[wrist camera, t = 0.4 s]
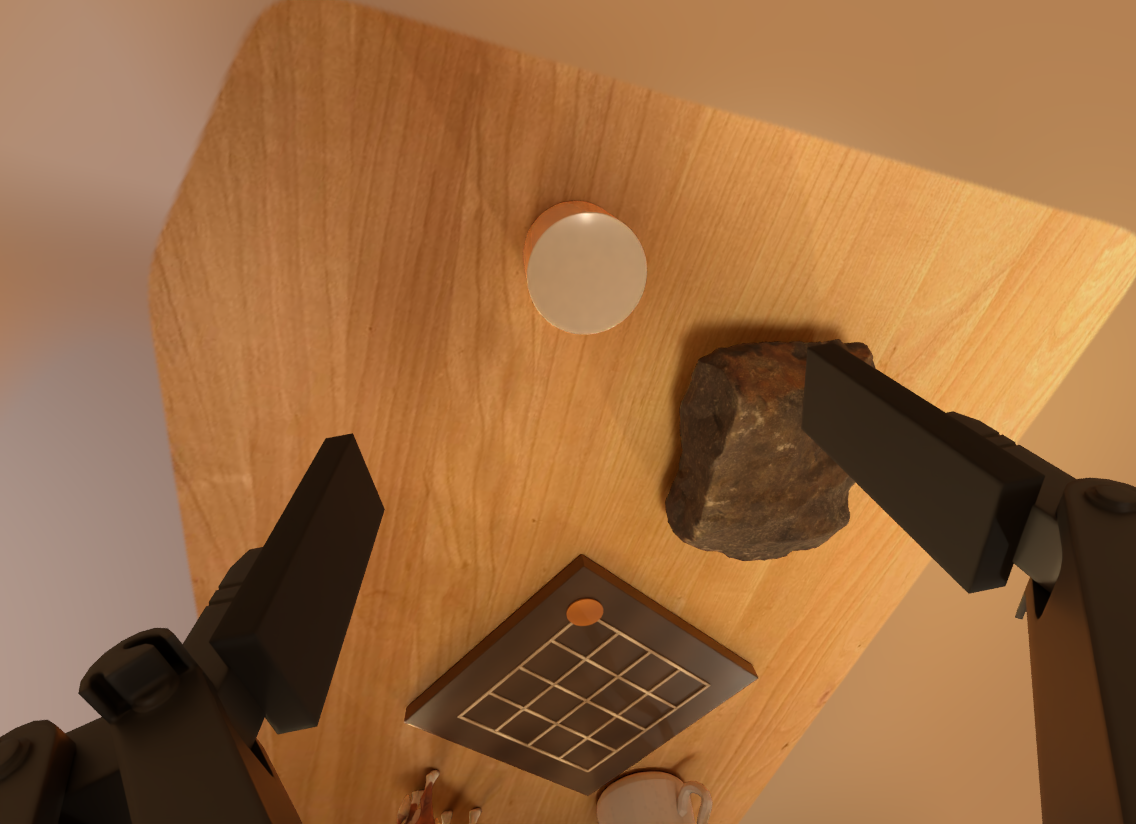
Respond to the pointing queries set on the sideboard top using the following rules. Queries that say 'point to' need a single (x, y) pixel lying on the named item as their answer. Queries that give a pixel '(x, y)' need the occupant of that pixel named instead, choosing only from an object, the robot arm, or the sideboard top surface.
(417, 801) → the bull figurine
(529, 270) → the white short cylinder
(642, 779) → the mug
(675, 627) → the grid board
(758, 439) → the stone
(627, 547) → the sideboard top surface
